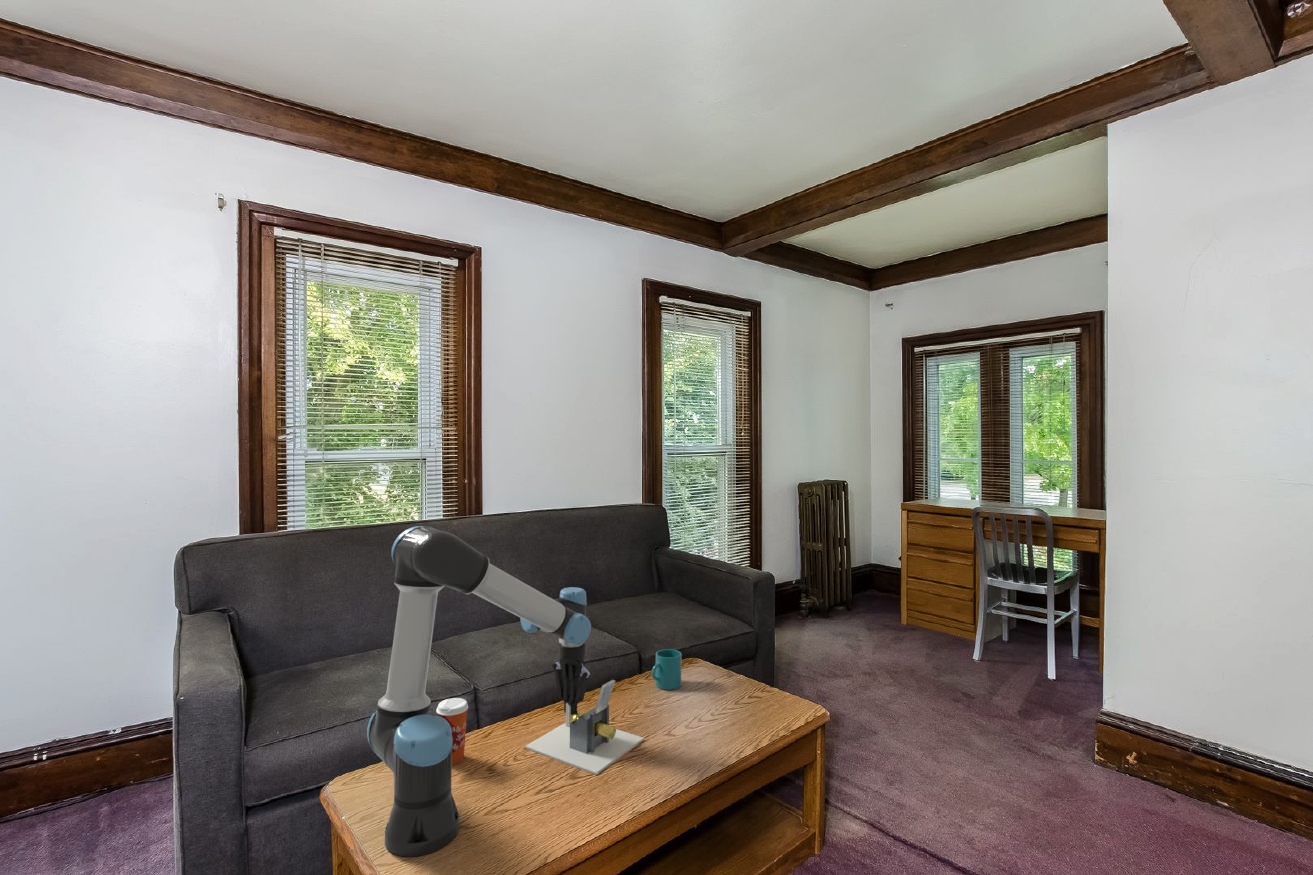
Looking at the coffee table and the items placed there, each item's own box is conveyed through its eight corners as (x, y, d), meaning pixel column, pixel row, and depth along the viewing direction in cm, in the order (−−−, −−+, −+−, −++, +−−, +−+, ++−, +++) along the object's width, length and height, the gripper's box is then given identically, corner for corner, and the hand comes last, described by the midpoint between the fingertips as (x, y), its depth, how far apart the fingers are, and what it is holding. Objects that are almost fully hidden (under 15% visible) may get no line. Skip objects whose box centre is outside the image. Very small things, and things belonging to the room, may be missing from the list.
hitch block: (569, 747, 169) (569, 710, 169) (592, 733, 177) (592, 697, 177) (589, 754, 165) (589, 716, 165) (611, 739, 174) (611, 703, 174)
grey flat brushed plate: (593, 712, 168) (602, 685, 166) (604, 705, 172) (613, 679, 170) (595, 713, 167) (604, 687, 166) (606, 707, 172) (615, 681, 170)
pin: (569, 733, 172) (570, 715, 172) (581, 726, 176) (581, 708, 177) (606, 746, 165) (606, 727, 165) (618, 738, 170) (618, 719, 170)
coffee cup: (458, 769, 159) (458, 711, 159) (429, 765, 160) (429, 708, 160) (474, 753, 167) (474, 698, 167) (446, 749, 169) (447, 695, 169)
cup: (643, 686, 213) (643, 654, 213) (669, 678, 221) (669, 647, 221) (660, 695, 206) (660, 661, 206) (686, 686, 214) (686, 653, 214)
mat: (596, 774, 156) (596, 772, 156) (525, 748, 170) (525, 745, 170) (643, 739, 175) (643, 737, 175) (576, 718, 188) (576, 716, 188)
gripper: (598, 643, 175) (596, 725, 175) (563, 634, 182) (561, 714, 182) (581, 651, 169) (579, 736, 169) (546, 641, 175) (544, 723, 176)
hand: (570, 724), depth 175 cm, fingers closed
